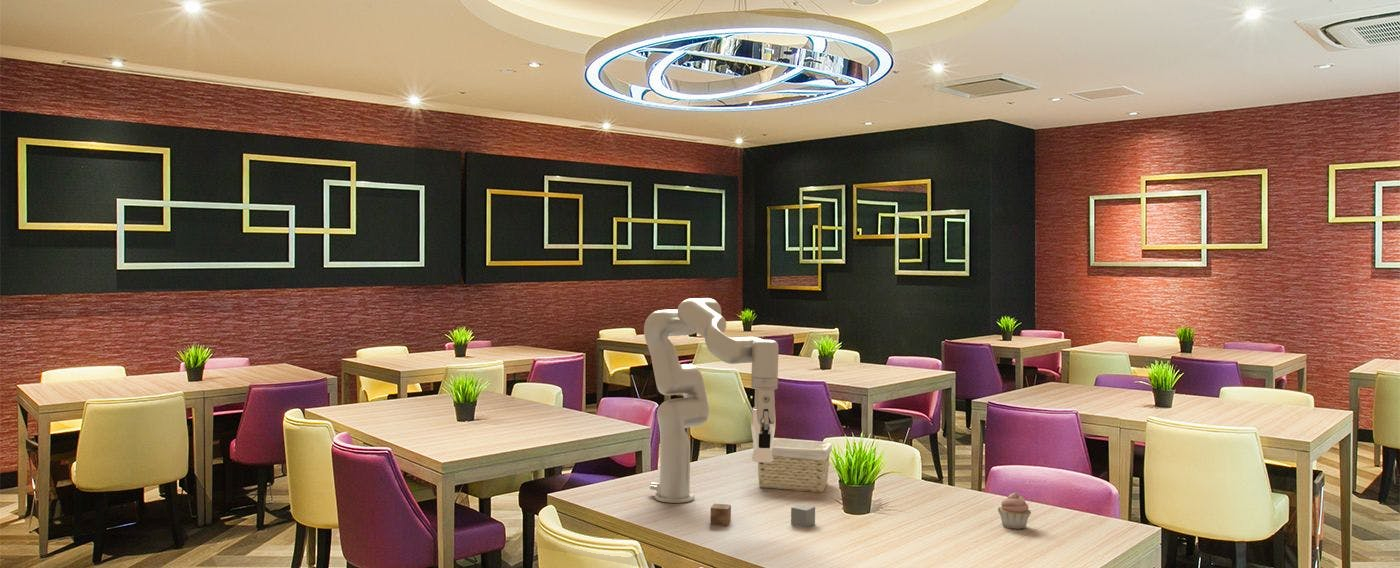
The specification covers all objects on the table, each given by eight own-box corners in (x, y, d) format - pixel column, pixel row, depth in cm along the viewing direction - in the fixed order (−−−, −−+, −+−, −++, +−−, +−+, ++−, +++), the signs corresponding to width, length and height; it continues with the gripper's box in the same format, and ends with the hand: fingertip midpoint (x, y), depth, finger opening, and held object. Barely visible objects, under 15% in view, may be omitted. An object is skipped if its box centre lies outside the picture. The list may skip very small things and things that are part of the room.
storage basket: (832, 483, 314) (833, 440, 313) (826, 494, 298) (826, 449, 298) (763, 478, 320) (764, 436, 320) (754, 489, 304) (754, 445, 304)
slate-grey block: (790, 524, 262) (791, 507, 262) (800, 521, 266) (800, 504, 266) (806, 528, 259) (806, 510, 259) (814, 524, 263) (815, 506, 263)
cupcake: (1014, 532, 257) (1015, 497, 256) (990, 524, 265) (990, 490, 265) (1038, 529, 261) (1039, 494, 261) (1013, 520, 269) (1014, 486, 269)
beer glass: (772, 463, 258) (774, 410, 258) (748, 462, 259) (749, 409, 259) (775, 458, 265) (777, 407, 264) (752, 457, 266) (753, 405, 266)
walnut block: (710, 525, 261) (710, 507, 261) (713, 520, 266) (714, 503, 265) (727, 526, 260) (727, 509, 259) (730, 521, 264) (730, 504, 264)
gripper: (781, 387, 253) (779, 451, 253) (773, 379, 270) (772, 439, 271) (754, 387, 252) (752, 451, 253) (748, 378, 270) (746, 439, 270)
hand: (762, 444), depth 262 cm, fingers closed on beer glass, 6 cm apart
